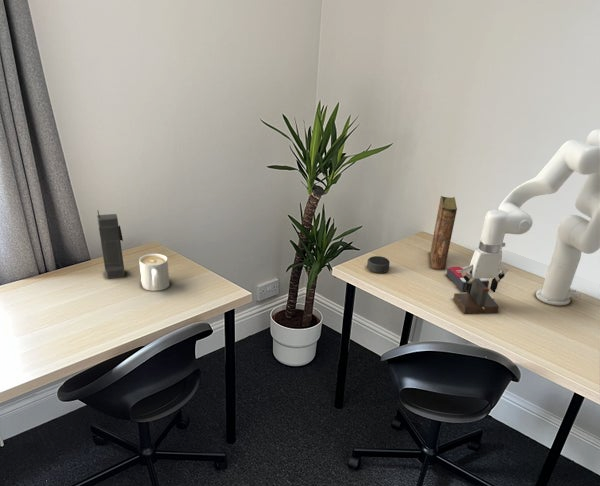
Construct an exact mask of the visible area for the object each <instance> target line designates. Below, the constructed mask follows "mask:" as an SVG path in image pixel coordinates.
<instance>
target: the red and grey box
mask: <svg viewBox="0 0 600 486" xmlns="http://www.w3.org/2000/svg"><path fill="white" fill-rule="evenodd" d="M469 266H470V265H468V266H466V265H465V266H450V267H448V268H447V269H446V277H447V278H449V279H450V281H452V282H453V283H454V284H455V285H456V288H458V290H460V291H461V292H466V291H465V283H466V280H465V279H464V278H463V277H462V273H461V270H463V269H465V268H467V267H469ZM469 274H470V273H469V272H467V273H466V275H467V276H468V275H469ZM479 279H480V280H481V282H482V283H483V284H484V285H485V286H486V287H487V288H488V289H489V285H490V284H489V283H490V280H489V279H488V278H479ZM471 283H472V282H471Z"/></svg>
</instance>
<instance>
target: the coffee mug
mask: <svg viewBox="0 0 600 486" xmlns="http://www.w3.org/2000/svg"><path fill="white" fill-rule="evenodd" d="M138 264H139V271H140V279H141V286H142V288H143V289H144V290H148V291H151V292H153V291H154V292H156V291H164V290H165V289H167V288H169V287H170V274H169V263H168V257H167V256H166V255H164V254H161V253H147V254H145V255H142V256H140V257H139V258H138Z"/></svg>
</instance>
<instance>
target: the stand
mask: <svg viewBox="0 0 600 486" xmlns="http://www.w3.org/2000/svg"><path fill="white" fill-rule="evenodd" d="M452 300H453V302H454V303H455V304H456V305H457V306H458V308H459V309H460V310H461V312H462V313H463V314H465V315H466V314H467V315H468V314H492V313H494V314H495V313H496V314H497V313H499V310H500V305H499V304H498V303H497V302H496V301H495V298H493V297H492V295H490V294H489V293H488V294H487V298H486V302H485V305H484V306H479V305H478V304H477V303H476V302H475V300H474V299H473V298H472V296H471V295H470V294H468V293H467V292H461V293H457V292H456V293H454V294H453V299H452Z"/></svg>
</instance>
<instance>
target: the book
mask: <svg viewBox="0 0 600 486" xmlns="http://www.w3.org/2000/svg"><path fill="white" fill-rule="evenodd" d="M457 206H458V205H457V202H456V197H455V196H453V197H449V196H448V197H447V196H443V195H441V196H440V199H439V204H438V210H437V215H436V220H435V226H434V231H433V235H432V236H433V237H432V241H431V247H430V253H429V256H430V268H431V269H433V270H435V271H444V270H445V269H446V265H447V260H448V256H449V255H448V254H449V250H450V245H451V241H452V236H453V232H454V225H455V221H456V218H457V217H456V216H457V212H458V207H457Z"/></svg>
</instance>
